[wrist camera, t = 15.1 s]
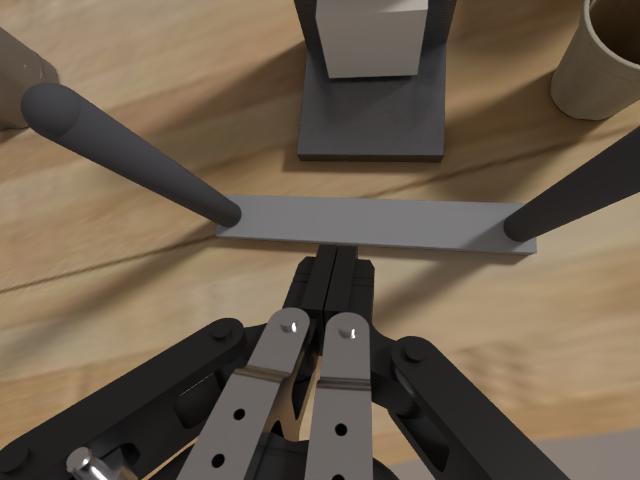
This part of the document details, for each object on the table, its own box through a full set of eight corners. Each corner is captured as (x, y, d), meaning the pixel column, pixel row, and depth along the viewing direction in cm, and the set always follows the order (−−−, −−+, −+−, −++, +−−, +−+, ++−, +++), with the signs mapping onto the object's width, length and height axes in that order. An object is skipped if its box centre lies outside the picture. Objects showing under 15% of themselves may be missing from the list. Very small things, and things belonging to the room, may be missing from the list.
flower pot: (619, 158, 28) (721, 96, 20) (509, 113, 30) (557, 40, 22) (670, 66, 29) (789, -32, 20) (558, 28, 31) (624, -74, 23)
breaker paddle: (417, 74, 30) (427, 9, 24) (329, 78, 32) (315, 17, 25) (418, 45, 31) (429, -28, 24) (331, 49, 32) (318, -18, 26)
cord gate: (530, 254, 28) (869, 142, 9) (220, 237, 33) (-7, 142, 14) (529, 207, 29) (841, 5, 9) (226, 198, 34) (17, 53, 14)
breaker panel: (440, 162, 31) (515, -15, 14) (300, 160, 33) (216, 8, 16) (444, 26, 33) (511, -267, 16) (313, 34, 35) (251, -214, 18)
